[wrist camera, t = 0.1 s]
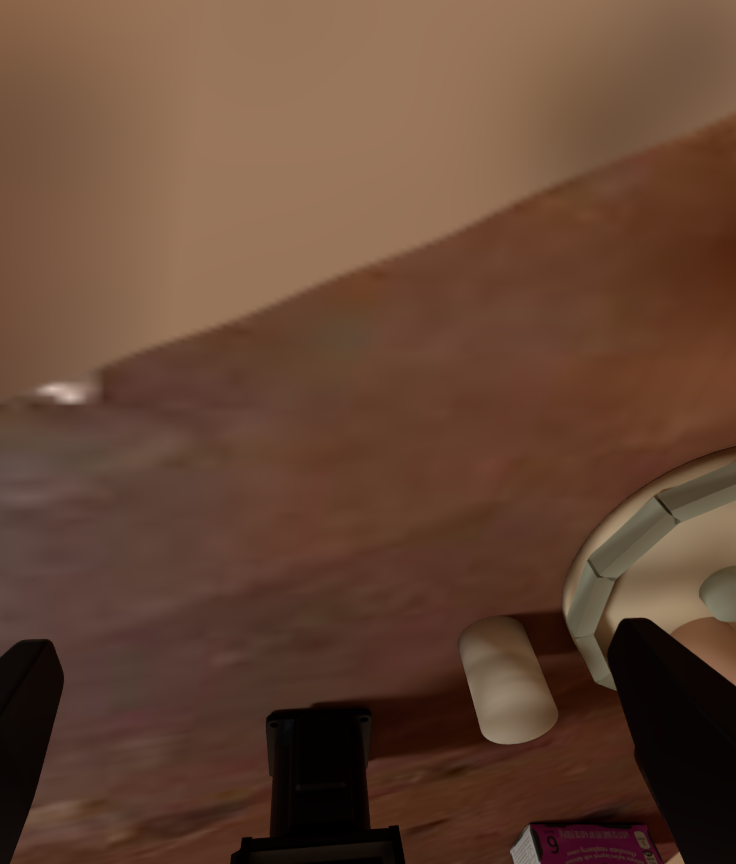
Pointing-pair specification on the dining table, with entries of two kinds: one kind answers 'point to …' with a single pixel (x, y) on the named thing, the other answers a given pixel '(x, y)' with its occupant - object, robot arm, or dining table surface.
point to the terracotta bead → (711, 644)
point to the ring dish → (657, 559)
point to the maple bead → (506, 681)
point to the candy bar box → (585, 845)
